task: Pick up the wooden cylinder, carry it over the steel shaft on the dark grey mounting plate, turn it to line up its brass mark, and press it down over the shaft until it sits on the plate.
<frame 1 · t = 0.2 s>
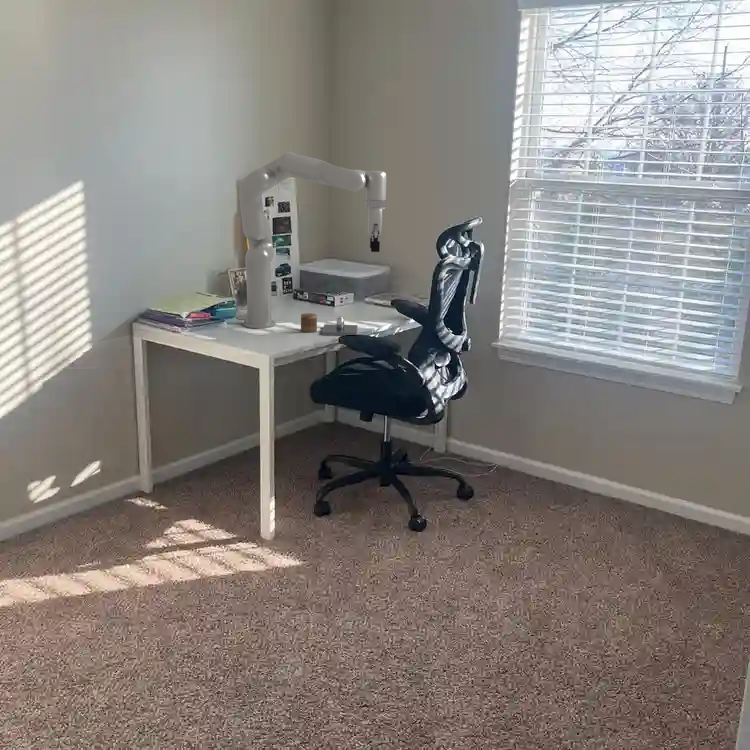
hand: (374, 250, 316), 31 cm above the table, fingers open, 9 cm apart
wooden cylinder: (308, 330, 317), on the table
shaft plate: (340, 331, 317), on the table
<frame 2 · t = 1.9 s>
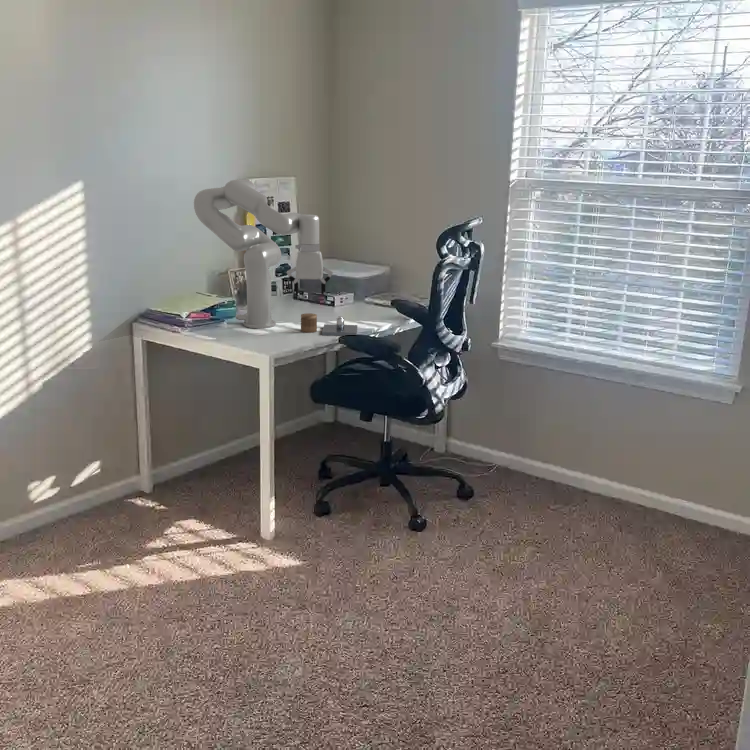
hand: (309, 293, 312), 15 cm above the table, fingers open, 9 cm apart
nothing on the table moved.
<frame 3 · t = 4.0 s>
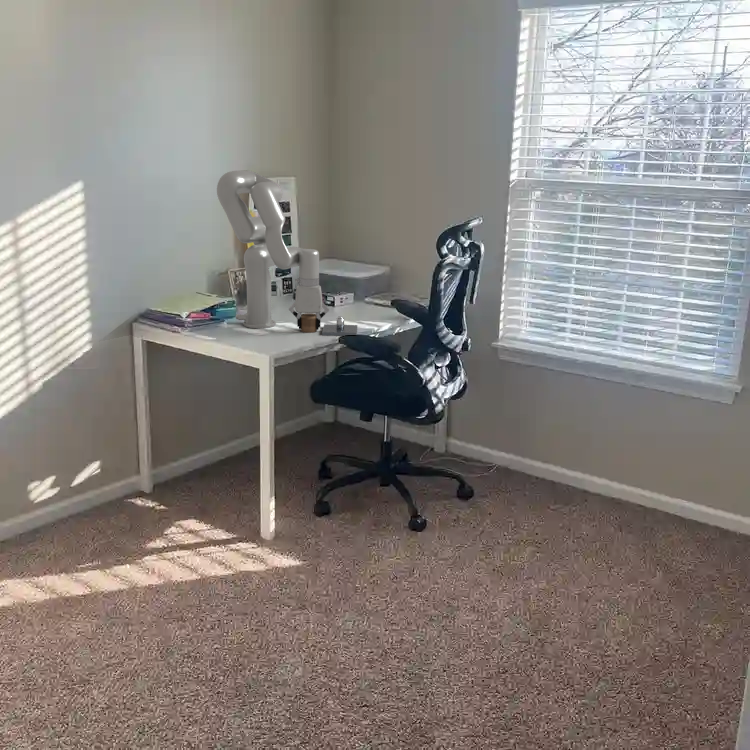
hand: (308, 328, 316), 1 cm above the table, fingers closed on wooden cylinder, 6 cm apart
wooden cylinder: (308, 330, 317), on the table, touching gripper
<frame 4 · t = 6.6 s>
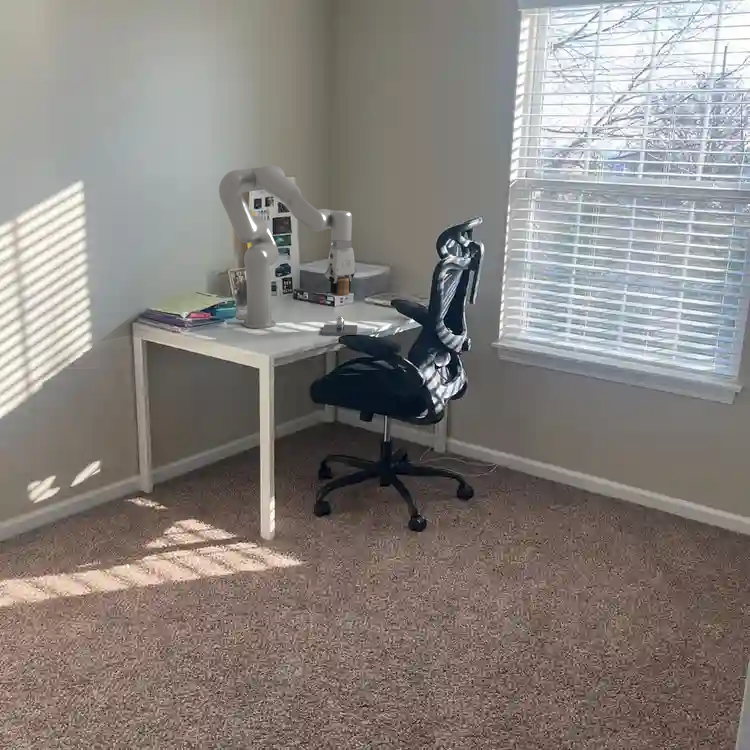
hand: (340, 291, 312), 15 cm above the table, fingers closed on wooden cylinder, 6 cm apart
wooden cylinder: (340, 294, 312), point 15 cm above the table, touching gripper
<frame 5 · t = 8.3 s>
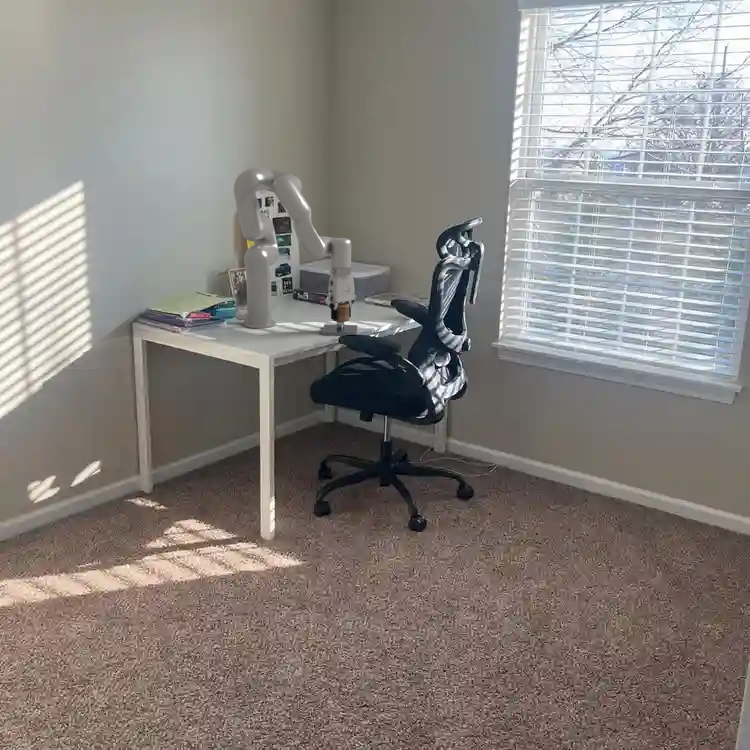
hand: (340, 317, 315), 5 cm above the table, fingers closed on wooden cylinder, 6 cm apart
wooden cylinder: (341, 320, 315), point 4 cm above the table, touching gripper
when the fingers open (3 cm above the table, at t = 9.6 s): wooden cylinder stays where it is, resting on shaft plate.
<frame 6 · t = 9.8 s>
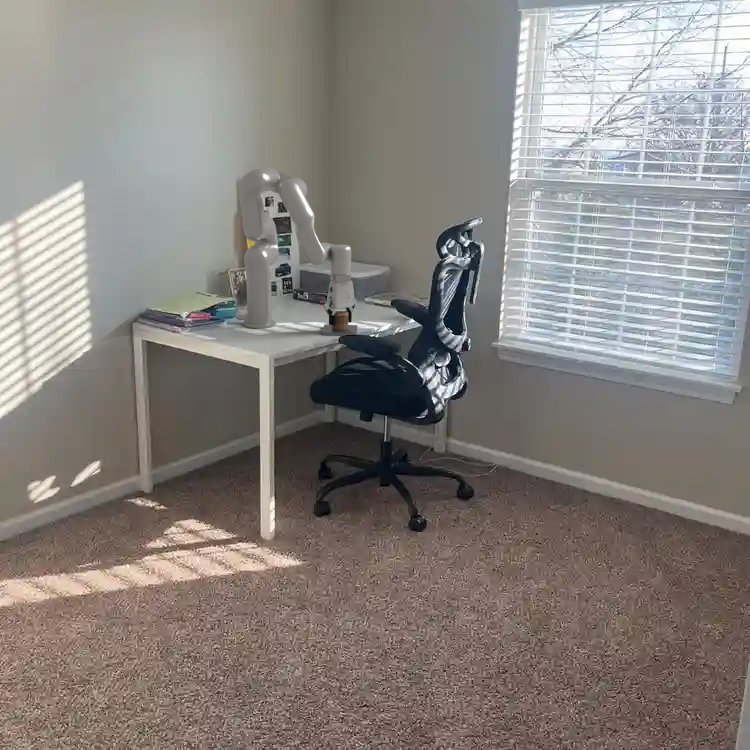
hand: (340, 323, 316), 3 cm above the table, fingers open, 7 cm apart
wooden cylinder: (340, 328, 316), point 1 cm above the table, touching shaft plate
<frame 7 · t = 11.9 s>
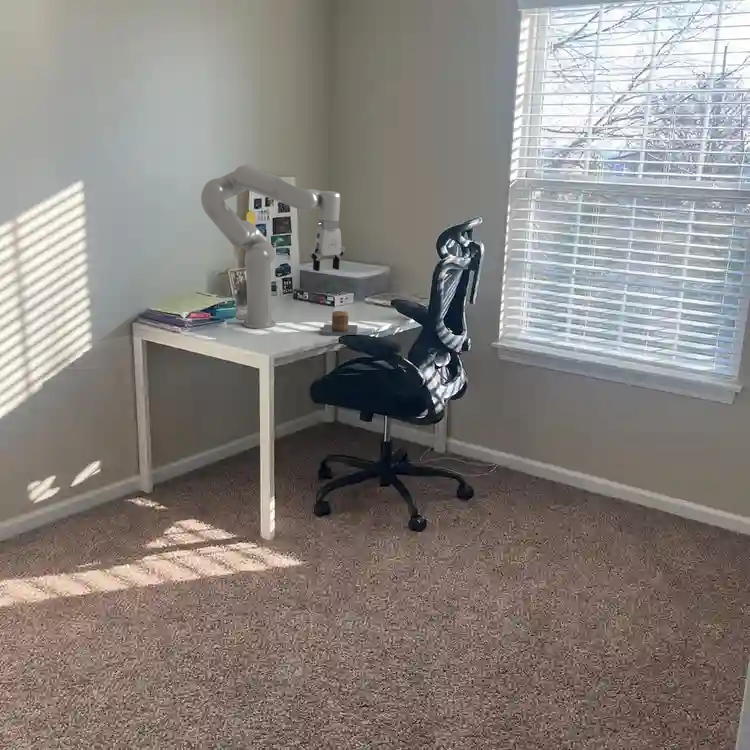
hand: (326, 269, 316), 23 cm above the table, fingers open, 9 cm apart
nothing on the table moved.
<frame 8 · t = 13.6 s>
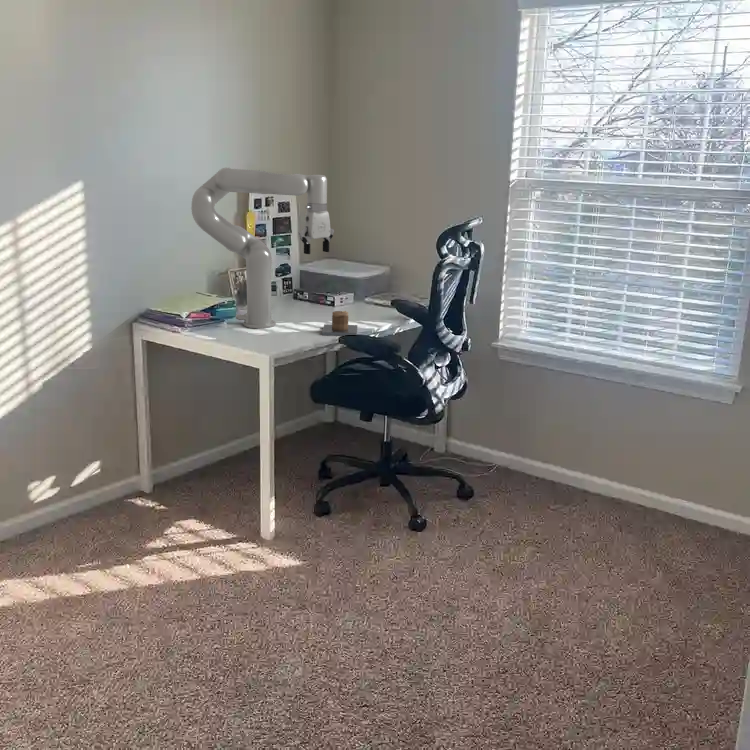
hand: (316, 252, 320), 28 cm above the table, fingers open, 9 cm apart
nothing on the table moved.
at the end: wooden cylinder 0.0 cm off-centre on the shaft plate, point 1.2 cm above the shaft plate's base; wooden cylinder tilted 0°; the gripper is holding nothing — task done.
